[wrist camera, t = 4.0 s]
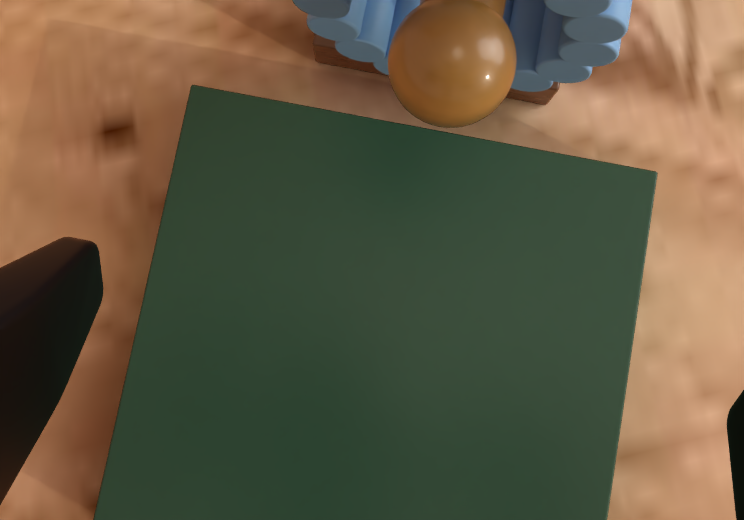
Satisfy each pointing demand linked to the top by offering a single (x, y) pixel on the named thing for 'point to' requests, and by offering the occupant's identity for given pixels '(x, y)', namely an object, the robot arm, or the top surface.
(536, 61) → the blue fluted ring
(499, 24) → the peg stand
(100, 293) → the robot arm
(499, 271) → the cutting board
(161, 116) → the top surface
